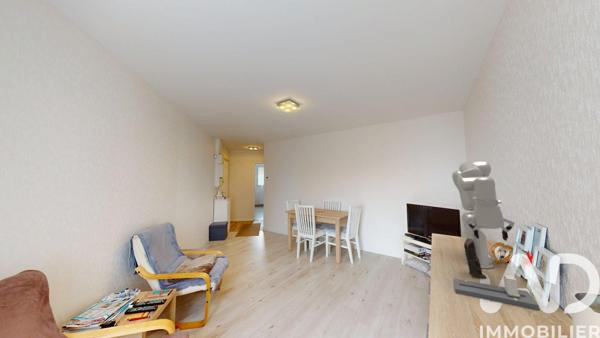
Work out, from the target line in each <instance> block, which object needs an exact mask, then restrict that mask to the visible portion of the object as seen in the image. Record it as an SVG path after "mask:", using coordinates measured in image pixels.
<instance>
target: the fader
mask: <svg viewBox="0 0 600 338" xmlns="http://www.w3.org/2000/svg"><path fill="white" fill-rule="evenodd" d="M503 281H504V282H503V283H504V286H503V287H504V289H505V291H506V292H507V294H508V296H514V297H519V298H521V296H520V295H519V294H518V290H519V289H518V281H517V279H516V277H514V275H512V274H504V273H503Z"/></svg>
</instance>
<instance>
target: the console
mask: <svg viewBox="0 0 600 338" xmlns="http://www.w3.org/2000/svg"><path fill="white" fill-rule="evenodd" d="M453 285H454V291H455V294H457V295H461V296H462V295H463V296H468V297H472V298H476V299H482V300H487V301H491V302H496V303H501V304H506V305H511V306H515V307H521V308H525V309H531V310H536V311H540V306H539V304H538V303H537V302H536V300H535V298H533V297H532V295H531V294H530V293H529V291H528V290H523V289H518V294H519V295H520V296H521V298H519V297H514V296H508V294H507V292H506V291H505V289H504V287H505V286H500V285H495V284H494V285H493V284H489V283H488V284H487V283H483V282H476V281H470V280H466V279H459V278H454V277H453Z"/></svg>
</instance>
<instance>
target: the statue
mask: <svg viewBox="0 0 600 338" xmlns="http://www.w3.org/2000/svg"><path fill="white" fill-rule="evenodd" d="M463 248H464V253H465V258H466V260H467V262H468V264H467V267H468V272H469V275H471V277H472V278H474V279H485V280H486V279H487V278H488V277H487V275H486V274H484V273H483V270H482V269H483V268H481V266H480V262H479V259H478V258H477V255H476V251H475V250H476V248H475V245H474V241H473V240H472V239H469V238H468V239H467V240H465V241H464V243H463Z"/></svg>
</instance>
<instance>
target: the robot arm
mask: <svg viewBox="0 0 600 338" xmlns="http://www.w3.org/2000/svg"><path fill="white" fill-rule="evenodd" d="M491 171H492V166H491V164H490V163H489V162H488V161H485V160H480V161H479V160H478V161H469V162H463V163H461V164H460V165H459V169H458V170H456V171H453V172H452V175H451V178H452V181H453V184H454V185H455V187H456V189H457V190H458V193H459V198H460V202H461V206H462V208H463V210H464V211H468V212H465V213H463V214H462V215H461V221H462V224H463V228H464V233H465V239H466V240H467V239H468V238H469V239H472V240H473V241H474V245H475V248H476V250H475V251H476V255H477V258H478V259H479V262H480V266H481V269H493V268H494V264H493V263H492V262H493V261H495V260H496V259H495V257H493V256H490V255H489V248H488V241H487V236H486V234H485V233H484V232H483V231H482V230H481V229H485V230H486V229H490V230H495V229H497V230H498V229H501V233H502V235H501V236H502V240H504V241H506V242H507V240H508V239H509V234H508V233H509V231H511V230H512V229H513V228H514V226H515V225H516V224H515V222H514V221H512V220H509V219H507V218H505V217H504V216H503V212H502V210H501V207H500V205H499V204H502V200H500V199H499V200H498V199H497V191H496V182H495V179H494V178H492V177H491V176H490V174H491ZM469 211H470V212H469ZM505 223H507V224H508V225H506V227H505ZM466 240H465V241H466ZM465 263H466V264H467V265H468V262H467V259H466V260H465Z"/></svg>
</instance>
